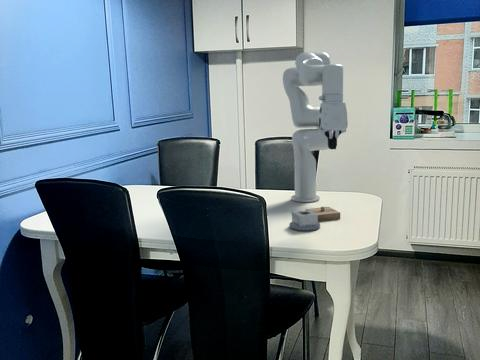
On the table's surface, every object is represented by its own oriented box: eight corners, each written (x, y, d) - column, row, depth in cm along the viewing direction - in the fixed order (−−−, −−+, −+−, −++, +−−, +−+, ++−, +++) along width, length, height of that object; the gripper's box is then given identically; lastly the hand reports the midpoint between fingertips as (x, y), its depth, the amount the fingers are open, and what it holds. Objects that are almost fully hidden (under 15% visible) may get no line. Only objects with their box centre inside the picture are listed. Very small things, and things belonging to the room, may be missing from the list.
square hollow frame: (299, 227, 171) (299, 216, 170) (292, 222, 177) (291, 211, 177) (317, 225, 173) (317, 214, 172) (309, 220, 179) (309, 209, 178)
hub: (285, 224, 179) (284, 214, 178) (312, 221, 182) (312, 211, 181) (296, 233, 168) (296, 221, 168) (325, 229, 171) (325, 218, 171)
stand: (305, 215, 191) (305, 205, 190) (328, 212, 194) (328, 203, 193) (316, 221, 182) (316, 211, 181) (340, 218, 184) (340, 208, 184)
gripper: (318, 100, 170) (318, 151, 174) (356, 98, 174) (355, 148, 178) (309, 99, 177) (309, 149, 181) (345, 98, 181) (345, 146, 185)
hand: (332, 148), depth 179 cm, fingers closed
